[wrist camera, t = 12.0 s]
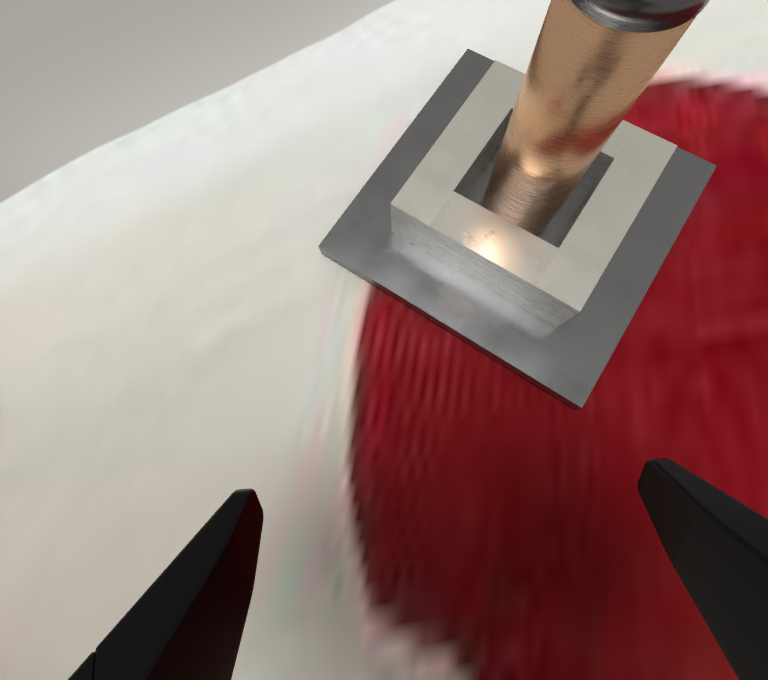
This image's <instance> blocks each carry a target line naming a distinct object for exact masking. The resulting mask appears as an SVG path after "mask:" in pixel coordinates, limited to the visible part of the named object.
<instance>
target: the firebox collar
mask: <svg viewBox="0 0 768 680" xmlns="http://www.w3.org/2000/svg"><path fill="white" fill-rule="evenodd" d="M525 75H526V74H524V73H522V72H520V71H517V70H515V69H513V68H511V67H509V66H507V65H505V64H502V63H500V62H498V61H496V60H495V61H493V60H491V59H489V58H487V57H484V56H482V55H480V54H478V53H476V52H474V51H472V50H470V49H467V51H466V52H465V53H464V55H463V56H462V57H461V59H460V60H459V61H458V62H457V64H456V65H455V66H454V68H453V69H452V70H451V72H450V73H449V74H448V76H447V77H446V78H445V80H444V81H443V82H442V84H441V85H440V86H439V88H438V89H437V90H436V92H435V93H434V94H433V96H432V97H431V98H430V99H429V101H428V102H427V103H426V105H425V106H424V107H423V109H422V110H421V111H420V113H419V114H418V115H417V117H416V118H415V119H414V121H413V122H412V123H411V125H410V126H409V127H408V129H407V130H406V131H405V133H404V134H403V135H402V136H401V138H400V139H399V140H398V142H397V143H396V144H395V146H394V147H393V148H392V150H391V151H390V152H389V154H388V155H387V156H386V158H385V159H384V160H383V162H382V163H381V164H380V166H379V167H378V168H377V169H376V171H375V172H374V173H373V175H372V176H371V177H370V179H369V180H368V181H367V183H366V184H365V185H364V187H363V188H362V189H361V191H360V192H359V193H358V195H357V196H356V197H355V199H354V200H353V201H352V203H351V204H350V205H349V206H348V208H347V209H346V210H345V212H344V213H343V214H342V216H341V217H340V218H339V220H338V221H337V222H336V224H335V225H334V226H333V228H332V229H331V230H330V232H329V233H328V234H327V236H326V237H325V238H324V239H323V241H322V242H321V243H320V245H319V249H320V251H321V253H322V254H323V255H325V256H327V257H328V258H330V259H332V260H333V261H335V262H336V263H338V264H340V265H341V266H343V267H345V268H346V269H348V270H349V271H351V272H353V273H354V274H356V275H358V276H359V277H361V278H362V279H364V280H366V281H367V282H369V283H370V284H372V285H374V286H375V287H377V288H379V289H380V290H382V291H383V292H385V293H387V294H388V295H390V296H392V297H393V298H395V299H396V300H398V301H400V302H401V303H403V304H404V305H406V306H408V307H409V308H411V309H413V310H414V311H416V312H417V313H419V314H421V315H422V316H424V317H426V318H427V319H429V320H430V321H432V322H434V323H435V324H437V325H439V326H440V327H442V328H443V329H445V330H447V331H448V332H450V333H451V334H453V335H455V336H456V337H458V338H460V339H461V340H463V341H464V342H466V343H468V344H469V345H471V346H473V347H474V348H476V349H477V350H479V351H481V352H482V353H484V354H485V355H487V356H489V357H490V358H492V359H494V360H495V361H497V362H498V363H500V364H502V365H503V366H505V367H507V368H508V369H510V370H511V371H513V372H515V373H516V374H518V375H520V376H521V377H523V378H524V379H526V380H528V381H529V382H531V383H532V384H534V385H536V386H537V387H539V388H541V389H542V390H544V391H545V392H547V393H549V394H550V395H552V396H554V397H555V398H557V399H558V400H560V401H562V402H563V403H565V404H566V405H568V406H570V407H571V408H573V409H579V408H582V407H583V405H584V404H585V402H586V400H587V398H588V396H589V395H590V393H591V391H592V389H593V387H594V386H595V384H596V382H597V380H598V378H599V377H600V375H601V373H602V371H603V369H604V368H605V366H606V364H607V362H608V360H609V359H610V357H611V355H612V353H613V351H614V350H615V348H616V346H617V344H618V342H619V341H620V339H621V337H622V335H623V333H624V332H625V330H626V328H627V326H628V324H629V323H630V321H631V319H632V317H633V315H634V314H635V312H636V310H637V308H638V306H639V305H640V303H641V301H642V299H643V297H644V296H645V294H646V292H647V290H648V288H649V287H650V285H651V283H652V281H653V279H654V278H655V276H656V274H657V272H658V270H659V269H660V267H661V265H662V263H663V261H664V260H665V258H666V256H667V254H668V252H669V251H670V249H671V247H672V245H673V243H674V242H675V240H676V238H677V236H678V234H679V233H680V231H681V229H682V227H683V225H684V224H685V222H686V220H687V218H688V216H689V215H690V213H691V211H692V209H693V207H694V206H695V204H696V202H697V200H698V198H699V197H700V195H701V193H702V191H703V189H704V188H705V186H706V184H707V182H708V180H709V179H710V177H711V175H712V173H713V171H714V170H715V168H716V165H714V164H712V163H710V162H708V161H706V160H703V159H701V158H699V157H697V156H695V155H693V154H691V153H689V152H686V151H684V150H682V149H680V148H678V147H677V145H675V144H673V143H671V142H669V141H666V140H664V139H662V138H660V137H658V136H656V135H654V134H652V133H649V132H647V131H645V130H643V129H641V128H639V127H637V126H635V125H632V124H630V123H628V122H626V121H624V120H622V122H621V123H620V124H619V126H618V127H617V129H616V130H615V131H614V133H613V134H612V136H611V137H610V138H609V140H608V141H607V143H606V144H605V146H604V147H603V148H602V150H601V151H600V153H599V154H598V155H597V157H596V158H595V160H594V161H593V162H592V164H591V165H590V167H589V168H588V169H587V171H586V172H585V174H584V175H583V177H582V178H581V179H580V181H579V182H578V184H577V185H576V186H575V188H574V189H573V191H572V192H571V193H570V195H569V196H568V198H567V199H566V200H565V202H564V203H563V205H562V206H561V207H560V209H559V210H558V212H557V213H556V215H555V216H554V217H553V219H552V220H551V222H550V223H549V224H548V226H547V227H546V228H545V229H544V230H543V231H542V232H540V233H539V234H537V235H533V234H531V233H530V232H528V231H526V230H524V229H522V228H520V227H519V226H517V225H515V224H513V223H511V222H509V221H508V220H506V219H504V218H502V217H500V216H498V215H497V214H495V213H493V212H491V211H489V210H487V209H486V208H484V207H482V199H483V196H484V193H485V190H486V187H487V185H488V182H489V179H490V176H491V173H492V170H493V167H494V164H495V161H496V159H497V156H498V153H499V150H500V147H501V144H502V141H503V138H504V135H505V133H506V130H507V127H508V124H509V121H510V118H511V115H512V112H513V109H514V107H515V104H516V101H517V98H518V95H519V92H520V89H521V86H522V83H523V81H524V78H525Z"/></svg>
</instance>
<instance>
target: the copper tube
mask: <svg viewBox="0 0 768 680" xmlns="http://www.w3.org/2000/svg"><path fill="white" fill-rule="evenodd" d="M709 1H710V0H551V3H550V6H549V8H548V11H547V14H546V17H545V20H544V23H543V26H542V29H541V31H540V34H539V37H538V40H537V43H536V46H535V49H534V52H533V55H532V57H531V60H530V63H529V66H528V69H527V72H526V75H525V78H524V81H523V83H522V86H521V89H520V92H519V95H518V98H517V101H516V104H515V107H514V109H513V112H512V115H511V118H510V121H509V124H508V127H507V130H506V133H505V135H504V138H503V141H502V144H501V147H500V150H499V153H498V156H497V159H496V161H495V164H494V167H493V170H492V173H491V176H490V179H489V182H488V185H487V187H486V190H485V193H484V196H483V199H482V207H484V208H486V209H487V210H489V211H491V212H493V213H495V214H497V215H498V216H500V217H502V218H504V219H506V220H508V221H509V222H511V223H513V224H515V225H517V226H519V227H520V228H522V229H524V230H526V231H528V232H530V233H531V234H533V235H537V234H539V233H540V232H542V231H543V230H544V229H545V228H546V227H547V226H548V224H549V223H550V222H551V220H552V219H553V217H554V216H555V215H556V213H557V212H558V210H559V209H560V207H561V206H562V205H563V203H564V202H565V200H566V199H567V198H568V196H569V195H570V193H571V192H572V191H573V189H574V188H575V186H576V185H577V184H578V182H579V181H580V179H581V178H582V177H583V175H584V174H585V172H586V171H587V169H588V168H589V167H590V165H591V164H592V162H593V161H594V160H595V158H596V157H597V155H598V154H599V153H600V151H601V150H602V148H603V147H604V146H605V144H606V143H607V141H608V140H609V138H610V137H611V136H612V134H613V133H614V131H615V130H616V129H617V127H618V126H619V124H620V123H621V122H622V120H623V119H624V117H625V116H626V115H627V113H628V112H629V110H630V109H631V108H632V106H633V105H634V103H635V102H636V100H637V99H638V98H639V96H640V95H641V93H642V92H643V91H644V89H645V88H646V86H647V85H648V84H649V82H650V81H651V79H652V78H653V77H654V75H655V74H656V72H657V71H658V69H659V68H660V67H661V65H662V64H663V62H664V61H665V60H666V58H667V57H668V55H669V54H670V53H671V51H672V50H673V48H674V47H675V46H676V44H677V43H678V41H679V40H680V39H681V37H682V36H683V34H684V33H685V31H686V30H687V29H688V27H689V26H690V24H691V23H692V22H693V20H694V19H695V17H696V16H697V15H698V14H699V13H700V12H701V11H702V10H703V9H704V7H705V6H706V5H707V3H708V2H709Z"/></svg>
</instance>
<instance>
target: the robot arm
mask: <svg viewBox="0 0 768 680" xmlns="http://www.w3.org/2000/svg"><path fill="white" fill-rule="evenodd" d="M638 490H639V494H640V496H641V498H642V500H643V503H644V505H645V507H646V509H647V511H648V513H649V516H650V518H651V520H652V522H653V524H654V526H655V529H656V531H657V533H658V535H659V537H660V539H661V542H662V544H663V546H664V548H665V550H666V552H667V554H668V556H669V558H670V560H671V562H672V564H673V566H674V568H675V570H676V571H677V573H678V575H679V577H680V578H681V580H682V582H683V584H684V585H685V587H686V589H687V591H688V592H689V594H690V596H691V597H692V599H693V601H694V603H695V604H696V606H697V608H698V610H699V611H700V613H701V615H702V616H703V618H704V620H705V622H706V623H707V625H708V627H709V629H710V630H711V632H712V634H713V635H714V637H715V639H716V641H717V642H718V644H719V646H720V648H721V649H722V651H723V653H724V654H725V656H726V658H727V660H728V661H729V663H730V665H731V667H732V668H733V670H734V672H735V673H736V675H737V677H738V679H739V680H768V519H767V518H765V517H763V516H762V515H760V514H758V513H757V512H755V511H754V510H752V509H750V508H749V507H747V506H745V505H744V504H742V503H741V502H739V501H737V500H736V499H734V498H732V497H731V496H729V495H728V494H726V493H724V492H723V491H721V490H719V489H718V488H716V487H715V486H713V485H711V484H710V483H708V482H706V481H705V480H703V479H701V478H700V477H698V476H697V475H695V474H693V473H692V472H690V471H688V470H687V469H685V468H684V467H682V466H680V465H679V464H677V463H675V462H674V461H672V460H670V459H667V458H659V459H649V460H648V461H646V463H645V465H644V468H643V471H642V473H641V476H640V478H639V481H638ZM262 525H263V510H262V507H261V505H260V502H259V500H258V497H257V494H256V492H255V491H254V490H253V489H239V490H236V491H234V492H233V493H232V494H231V495H230V497H229V498H228V499H227V500H226V501H225V502H224V503H223V504H222V506H221V507H220V508H219V509H218V510H217V511H216V512H215V514H214V515H213V516H212V517H211V518H210V519H209V520H208V522H207V523H206V524H205V525H204V526H203V527H202V528H201V529H200V531H199V532H198V533H197V534H196V535H195V536H194V537H193V539H192V540H191V541H190V542H189V543H188V544H187V545H186V546H185V548H184V549H183V550H182V551H181V552H180V553H179V554H178V556H177V557H176V558H175V559H174V560H173V561H172V562H171V563H170V565H169V566H168V567H167V568H166V569H165V570H164V571H163V573H162V574H161V575H160V576H159V577H158V578H157V579H156V581H155V582H154V583H153V584H152V585H151V586H150V587H149V588H148V590H147V591H146V592H145V593H144V594H143V595H142V596H141V598H140V599H139V600H138V601H137V602H136V603H135V604H134V605H133V607H132V608H131V609H130V610H129V611H128V612H127V613H126V615H125V616H124V617H123V618H122V619H121V620H120V621H119V622H118V624H117V625H116V626H115V627H114V628H113V629H112V630H111V632H110V633H109V634H108V635H107V636H106V637H105V638H104V640H103V641H102V642H101V643H100V644H99V645H98V646H97V648H96V651H95V652H92V653H91V654H90V655H89V656H88V657H87V659H86V660H85V661H84V662H83V663H82V664H81V665H80V667H79V668H78V669H77V670H76V671H75V672H74V673H73V674H72V676H71V677H70V678H69V679H68V680H231V678H232V674H233V670H234V666H235V662H236V658H237V653H238V649H239V645H240V641H241V637H242V633H243V629H244V625H245V621H246V617H247V613H248V609H249V605H250V601H251V596H252V592H253V587H254V581H255V574H256V567H257V560H258V553H259V546H260V539H261V532H262Z"/></svg>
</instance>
